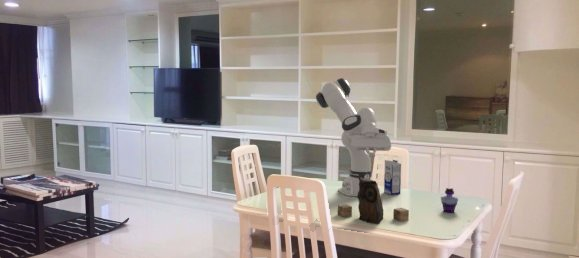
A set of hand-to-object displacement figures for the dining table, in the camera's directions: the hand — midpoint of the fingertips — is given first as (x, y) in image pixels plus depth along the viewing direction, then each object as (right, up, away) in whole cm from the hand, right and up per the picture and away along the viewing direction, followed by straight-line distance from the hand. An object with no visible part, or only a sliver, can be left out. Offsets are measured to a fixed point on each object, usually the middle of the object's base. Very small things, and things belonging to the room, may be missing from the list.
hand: (371, 156), depth 228 cm
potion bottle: (+40, -28, +5) cm, 49 cm away
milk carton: (+20, -25, +44) cm, 54 cm away
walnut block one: (-14, -29, -2) cm, 32 cm away
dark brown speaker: (-1, -30, -9) cm, 31 cm away
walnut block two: (+12, -30, -9) cm, 33 cm away
